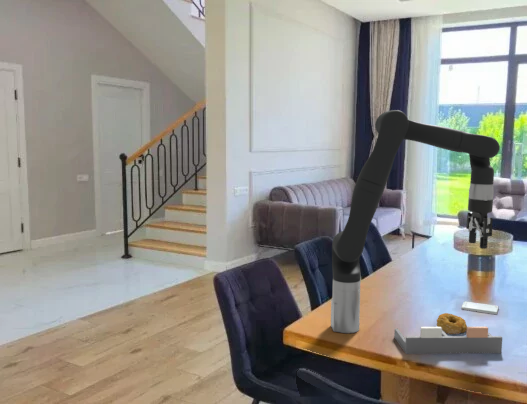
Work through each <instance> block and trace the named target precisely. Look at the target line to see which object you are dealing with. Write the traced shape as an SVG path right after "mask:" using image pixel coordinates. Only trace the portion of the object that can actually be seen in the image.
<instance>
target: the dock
mask: <svg viewBox="0 0 527 404" xmlns="http://www.w3.org/2000/svg"><path fill="white" fill-rule="evenodd" d="M419 333H420V336H405V335H403V334H402V332H401V331H400V330H399V329H398V328H394V333H393V334H394V335H393V336H394V339H395V341H396V343H398V345H399V346H400V348H401V349H402V350H403V352H404V353H405V354H406V355H427V354H428V355H429V354H430V355H431V354H432V355H436V354H437V355H438V354H440V355H441V354H444V355H446V354H447V355H448V354H451V355H452V354H454V355H455V354H502V350H503V347H502V346H503V336H501V335H492V334H491V333H490V332H489V327H488V326H467V331H466V332H465V333H466V335H465V336H455V335H454V336H451V335H449V334H447V333H445V332H444V331H443V330H442V328H441V327H437V326H420V332H419Z"/></svg>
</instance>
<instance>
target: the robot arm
mask: <svg viewBox="0 0 527 404" xmlns="http://www.w3.org/2000/svg"><path fill="white" fill-rule="evenodd" d="M374 125H375V126H374V128H375V130H376V132H377V138H376V141H375V144H374V146H373V150H372V151H371V154H370V155H369V157H368V158H367V160H366V162H365V163H364V164H363V166H362V167H361V170H360V173H359V175H358V177H357V180H356V183H355V185H354V188H353V191H352V194H351V195H352V196H351V201H350V209H349V216H348V219H347V221H346V224H345V226H344V229H343V230H342V231H339V232H338V233H336V234H335V236H334V237H333V240H332V245H331V268H332V269H331V270H332V297H331V300H330V302H331V303H330V327H331V329H332V331H333V332H337V333H342V334H354V333H357V332H359V330H360V326H361V325H360V324H361V323H360V319H361V318H360V317H361V316H360V314H361V311H360V310H361V281H362V280H361V278H362V276H361V275H362V274H361V269H360V268H361V267H360V257H361V256H362V254H363V252H364V248H365V244H366V240H367V236H368V233H369V229H370V225H371V223H372V220H373V219H374V216H375V214H376V211H377V209H378V207H379V203H380V201H381V200H382V196H383V193H384V191H385V187H386V185H387V182H388V178H389V176H390V174H391V170H392V168H393V165H394V161H395V157H396V155H397V154H398V150H399V149H400V146H401V144H402V143H403V140H405V141H413V142H417V143H421V144H425V145H429V146H433V147H436V148H439V149H443V150H447V151H450V152H454V153H464V154H468V156H469V164H470V181H469V182H470V183H469V189H468V201H467V202H468V203H467V210H468V212H467V214H466V223H465V224H466V225H465V226H466V227H465V228H466V229H467V231H468V232H469V233H468V243H469V244H475V243H477V232H479V236H480V237H479V248H480V249H484V250H485V249H487V248H488V240H489V238H490V237H492V236H493V221H494V220H493V217H488V216H489V215H488V214H489V213H492V212H493V207H494V206H493V205H494V204H493V203H494V182H495V181H494V178H495V170H494V168H493V166H491V159H492V158H494V157H496V156H497V155H498V154H499V152H500V142H498V140H496V138H494V137H493V136H487V135H484V134H476V133H471V132H466V131H465V130H464V131H463V130H460V129H456V128H452V127H447V126H443V125H442V126H441V125H435V124H430V123H429V124H427V123H423V122H418V121H414V120H411V119H408V115H406V114H405V112H404V111H401V110H399V109H397V110H396V109H394V110H393V109H392V110H387V111H384V112H382V113H381V114H379V116H378V117H377V118H376V121H375V124H374Z"/></svg>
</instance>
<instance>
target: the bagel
mask: <svg viewBox="0 0 527 404" xmlns="http://www.w3.org/2000/svg"><path fill="white" fill-rule="evenodd" d="M436 327H441V328H442V330H443V331H444V332H445V333H446V334H447V335H459V334H464V333H466V332H467V327H468V325H467V322H466V320H465V319H464V318H463V317H461V316H458V315H456V314H452V313H448V312H444V313H441V314H439V315H438V317H437V319H436Z"/></svg>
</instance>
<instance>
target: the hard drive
mask: <svg viewBox="0 0 527 404" xmlns="http://www.w3.org/2000/svg"><path fill="white" fill-rule="evenodd" d="M460 308H461V310H462V309H464V311H469V310H470V312H476V311H477V313H483V314H491V315H498V312H499V308H500V306H499V305H494V304H486V303H477V302H473V301H472V302H471V301H466V300H465V301H463V303H462V305H461V307H460Z"/></svg>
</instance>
